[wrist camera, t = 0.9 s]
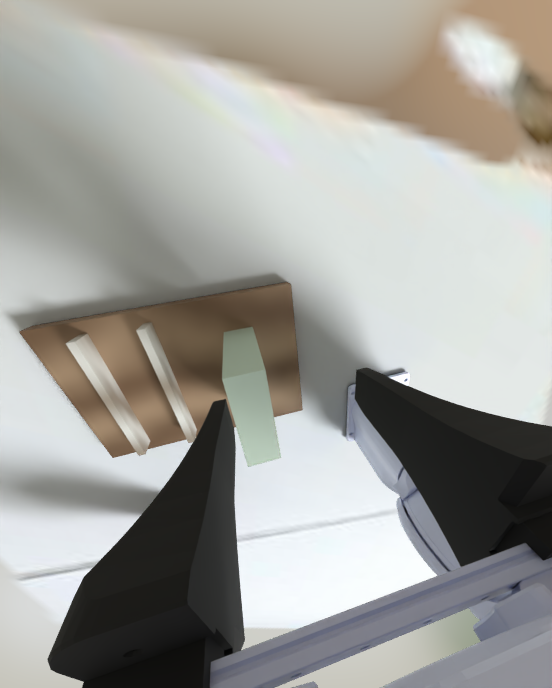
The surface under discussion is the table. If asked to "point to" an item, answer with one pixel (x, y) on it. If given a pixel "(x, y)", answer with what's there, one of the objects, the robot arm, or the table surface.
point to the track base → (166, 363)
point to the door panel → (249, 396)
